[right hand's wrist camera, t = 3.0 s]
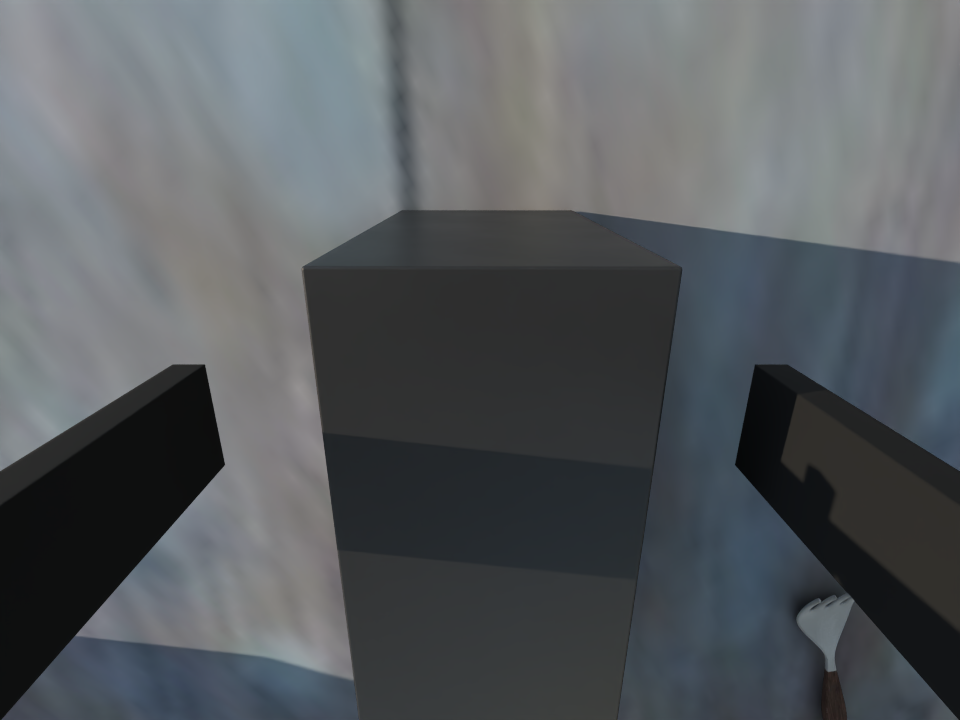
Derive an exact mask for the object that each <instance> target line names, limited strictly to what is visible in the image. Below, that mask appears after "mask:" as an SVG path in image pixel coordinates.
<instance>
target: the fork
mask: <svg viewBox="0 0 960 720" xmlns="http://www.w3.org/2000/svg"><path fill="white" fill-rule="evenodd" d="M847 598H848V599H847ZM846 599H847V600H846ZM844 600H846V601H844ZM832 601H833V602H832ZM843 601H844V602H843ZM830 602H832V603H831V604H829V603H830ZM841 602H843V603H841ZM853 603H854V600H853V599H852V597H851V596H850V595H849V594H848V593H845V594H844V595H842V596H840V597H838V598H837V597H836V596H835V595H832V596H830V597H828V598H827V599H825V600H823V601H822V602H821V600H820V599H819V598H817V599H815V600H813V601H811V602H810V603H808V604H807V605H806V606H804V607H803V608H802V609H801V611H800V612H799V613H798V615H797V618H796V621H797V624H798V626H799V628H800V629H801V630H802V631H803V633H804V634H805V635H806V636H807V637H808V638H810V639H811V640H812V641H813V642H814V643H815V644H816V645H817V646H818V647H819V648H820V649H821V650H822V652H823V653H824V656H825V671H824V680H823V689H822V700H821V709H822V716H823V720H847V713H846V707H845V702H844V698H843V694H842V690H841V686H840V682H839V678H838V674H837V670H836V666H835V650H836V646H837V643H838V641H839V638H840V635H841V633H842V630H843V628H844V625H845V623H846V620H847V618H848V615H849V613H850V610H851V607H852V604H853ZM817 604H818V605H817ZM827 604H829V605H828V606H826V605H827ZM815 605H817V606H816V607H814V606H815ZM812 607H814V608H813V609H811V608H812Z"/></svg>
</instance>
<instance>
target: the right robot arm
mask: <svg viewBox="0 0 960 720" xmlns="http://www.w3.org/2000/svg"><path fill="white" fill-rule="evenodd" d="M224 465H225V463H224V458H223V453H222V448H221V443H220V438H219V433H218V428H217V423H216V418H215V413H214V408H213V403H212V398H211V393H210V388H209V383H208V378H207V373H206V368H205V365H171V366H170V367H168V368H167V369H165V370H163V371H162V372H160V373H158V374H157V375H155V376H154V377H152V378H150V379H149V380H147V381H145V382H144V383H142V384H141V385H139V386H137V387H136V388H134V389H133V390H131V391H129V392H128V393H126V394H124V395H123V396H121V397H120V398H118V399H116V400H115V401H113V402H112V403H110V404H108V405H107V406H105V407H103V408H102V409H100V410H99V411H97V412H95V413H94V414H92V415H91V416H89V417H87V418H86V419H84V420H82V421H81V422H79V423H78V424H76V425H74V426H73V427H71V428H70V429H68V430H66V431H65V432H63V433H61V434H60V435H58V436H57V437H55V438H53V439H52V440H50V441H49V442H47V443H45V444H44V445H42V446H40V447H39V448H37V449H36V450H34V451H32V452H31V453H29V454H28V455H26V456H24V457H23V458H21V459H19V460H18V461H16V462H15V463H13V464H11V465H10V466H8V467H7V468H5V469H3V470H2V471H0V720H1V719H2V718H3V717H4V716H5V715H6V714H7V712H8V711H9V710H10V709H11V708H12V707H13V706H14V705H15V703H16V702H17V701H18V700H19V699H20V698H21V697H22V695H23V694H24V693H25V692H26V691H27V690H28V689H29V687H30V686H31V685H32V684H33V683H34V682H35V681H36V679H37V678H38V677H39V676H40V675H41V674H42V673H43V671H44V670H45V669H46V668H47V667H48V666H49V665H50V664H51V662H52V661H53V660H54V659H55V658H56V657H57V656H58V654H59V653H60V652H61V651H62V650H63V649H64V648H65V646H66V645H67V644H68V643H69V642H70V641H71V640H72V638H73V637H74V636H75V635H76V634H77V633H78V632H79V630H80V629H81V628H82V627H83V626H84V625H85V624H86V623H87V621H88V620H89V619H90V618H91V617H92V616H93V615H94V613H95V612H96V611H97V610H98V609H99V608H100V607H101V605H102V604H103V603H104V602H105V601H106V600H107V599H108V597H109V596H110V595H111V594H112V593H113V592H114V591H115V590H116V588H117V587H118V586H119V585H120V584H121V583H122V582H123V580H124V579H125V578H126V577H127V576H128V575H129V574H130V572H131V571H132V570H133V569H134V568H135V567H136V566H137V564H138V563H139V562H140V561H141V560H142V559H143V558H144V556H145V555H146V554H147V553H148V552H149V551H150V550H151V549H152V547H153V546H154V545H155V544H156V543H157V542H158V541H159V539H160V538H161V537H162V536H163V535H164V534H165V533H166V531H167V530H168V529H169V528H170V527H171V526H172V525H173V523H174V522H175V521H176V520H177V519H178V518H179V517H180V515H181V514H182V513H183V512H184V511H185V510H186V509H187V508H188V506H189V505H190V504H191V503H192V502H193V501H194V500H195V498H196V497H197V496H198V495H199V494H200V493H201V492H202V490H203V489H204V488H205V487H206V486H207V485H208V484H209V482H210V481H211V480H212V479H213V478H214V477H215V476H216V475H217V473H218V472H219V471H220V470H221V469H222V468H223V467H224ZM735 465H736V467H737V468H738V469H739V470H740V471H741V472H742V473H743V475H744V476H745V477H746V478H747V479H748V480H749V481H750V482H751V484H752V485H753V486H754V487H755V488H756V489H757V490H758V492H759V493H760V494H761V495H762V496H763V497H764V498H765V500H766V501H767V502H768V503H769V504H770V505H771V506H772V508H773V509H774V510H775V511H776V512H777V513H778V514H779V515H780V517H781V518H782V519H783V520H784V521H785V522H786V523H787V525H788V526H789V527H790V528H791V529H792V530H793V531H794V533H795V534H796V535H797V536H798V537H799V538H800V539H801V541H802V542H803V543H804V544H805V545H806V546H807V547H808V549H809V550H810V551H811V552H812V553H813V554H814V555H815V556H816V558H817V559H818V560H819V561H820V562H821V563H822V564H823V566H824V567H825V568H826V569H827V570H828V571H829V572H830V574H831V575H832V576H833V577H834V578H835V579H836V580H837V582H838V583H839V584H840V585H841V586H842V587H843V588H844V590H845V591H846V592H847V593H848V594H849V595H850V596H851V597H852V599H853V600H854V601H855V602H856V603H857V604H858V605H859V607H860V608H861V609H862V610H863V611H864V612H865V613H866V615H867V616H868V617H869V618H870V619H871V620H872V621H873V623H874V624H875V625H876V626H877V627H878V628H879V629H880V630H881V632H882V633H883V634H884V635H885V636H886V637H887V638H888V640H889V641H890V642H891V643H892V644H893V645H894V646H895V648H896V649H897V650H898V651H899V652H900V653H901V654H902V656H903V657H904V658H905V659H906V660H907V661H908V662H909V664H910V665H911V666H912V667H913V668H914V669H915V670H916V671H917V673H918V674H919V675H920V676H921V677H922V678H923V679H924V681H925V682H926V683H927V684H928V685H929V686H930V687H931V689H932V690H933V691H934V692H935V693H936V694H937V695H938V697H939V698H940V699H941V700H942V701H943V702H944V703H945V705H946V706H947V707H948V708H949V709H950V710H951V711H952V712H953V714H954V715H955V716H956V717H957V718H958V719H959V720H960V471H958V470H957V469H955V468H953V467H952V466H950V465H949V464H947V463H945V462H944V461H942V460H941V459H939V458H937V457H936V456H934V455H932V454H931V453H929V452H928V451H926V450H924V449H923V448H921V447H920V446H918V445H916V444H915V443H913V442H911V441H910V440H908V439H907V438H905V437H903V436H902V435H900V434H899V433H897V432H895V431H894V430H892V429H890V428H889V427H887V426H886V425H884V424H882V423H881V422H879V421H878V420H876V419H874V418H873V417H871V416H869V415H868V414H866V413H865V412H863V411H861V410H860V409H858V408H857V407H855V406H853V405H852V404H850V403H848V402H847V401H845V400H844V399H842V398H840V397H839V396H837V395H836V394H834V393H832V392H831V391H829V390H827V389H826V388H824V387H823V386H821V385H819V384H818V383H816V382H814V381H813V380H811V379H810V378H808V377H806V376H805V375H803V374H802V373H800V372H798V371H797V370H795V369H793V368H792V367H790V366H789V365H755V368H754V373H753V378H752V383H751V388H750V393H749V398H748V403H747V408H746V413H745V418H744V423H743V428H742V433H741V438H740V443H739V448H738V453H737V458H736V463H735Z"/></svg>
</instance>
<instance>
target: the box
mask: <svg viewBox="0 0 960 720" xmlns="http://www.w3.org/2000/svg"><path fill="white" fill-rule="evenodd" d="M681 274H682V267H680V266H678V265H676V264H674V263H672V262H670V261H668V260H666V259H664V258H662V257H661V256H659V255H657V254H655V253H653V252H651V251H649V250H647V249H645V248H643V247H641V246H639V245H637V244H636V243H634V242H632V241H630V240H628V239H626V238H624V237H622V236H620V235H618V234H616V233H614V232H612V231H610V230H609V229H607V228H605V227H603V226H601V225H599V224H597V223H595V222H593V221H591V220H589V219H587V218H585V217H583V216H582V215H580V214H578V213H576V212H574V211H400V212H398V213H397V214H395V215H393V216H391V217H389V218H388V219H386V220H384V221H382V222H381V223H379V224H377V225H375V226H374V227H372V228H370V229H368V230H367V231H365V232H363V233H361V234H360V235H358V236H356V237H354V238H352V239H351V240H349V241H347V242H345V243H344V244H342V245H340V246H338V247H337V248H335V249H333V250H331V251H330V252H328V253H326V254H324V255H323V256H321V257H319V258H317V259H316V260H314V261H312V262H310V263H308V264H307V265H305V266H303V267H302V276H303V284H304V292H305V300H306V307H307V315H308V323H309V331H310V339H311V347H312V355H313V362H314V370H315V378H316V386H317V394H318V402H319V409H320V417H321V425H322V433H323V441H324V449H325V456H326V464H327V472H328V480H329V488H330V496H331V503H332V511H333V519H334V527H335V535H336V543H337V550H338V558H339V566H340V574H341V582H342V590H343V597H344V605H345V613H346V621H347V629H348V637H349V644H350V652H351V660H352V668H353V676H354V684H355V692H356V699H357V707H358V715H359V720H617V717H618V710H619V703H620V696H621V689H622V682H623V676H624V669H625V662H626V655H627V648H628V641H629V634H630V627H631V620H632V613H633V606H634V599H635V593H636V586H637V579H638V572H639V565H640V558H641V551H642V544H643V537H644V530H645V523H646V516H647V510H648V503H649V496H650V489H651V482H652V475H653V468H654V461H655V454H656V447H657V440H658V433H659V427H660V420H661V413H662V406H663V399H664V392H665V385H666V378H667V371H668V364H669V357H670V350H671V343H672V337H673V330H674V323H675V316H676V309H677V302H678V295H679V288H680V281H681Z"/></svg>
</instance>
